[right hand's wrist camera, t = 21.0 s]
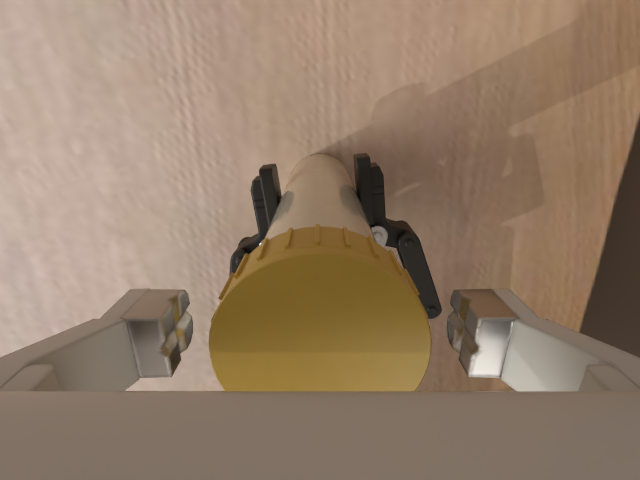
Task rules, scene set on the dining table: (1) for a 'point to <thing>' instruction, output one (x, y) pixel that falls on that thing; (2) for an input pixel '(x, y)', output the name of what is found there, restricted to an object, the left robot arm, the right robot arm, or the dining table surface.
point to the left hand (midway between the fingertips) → (313, 162)
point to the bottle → (319, 199)
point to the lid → (320, 317)
